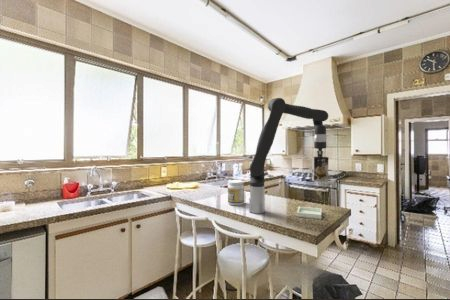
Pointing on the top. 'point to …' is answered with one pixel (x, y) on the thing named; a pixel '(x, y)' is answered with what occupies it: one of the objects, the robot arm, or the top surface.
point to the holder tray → (309, 212)
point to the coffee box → (320, 170)
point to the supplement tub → (236, 192)
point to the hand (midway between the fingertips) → (320, 165)
